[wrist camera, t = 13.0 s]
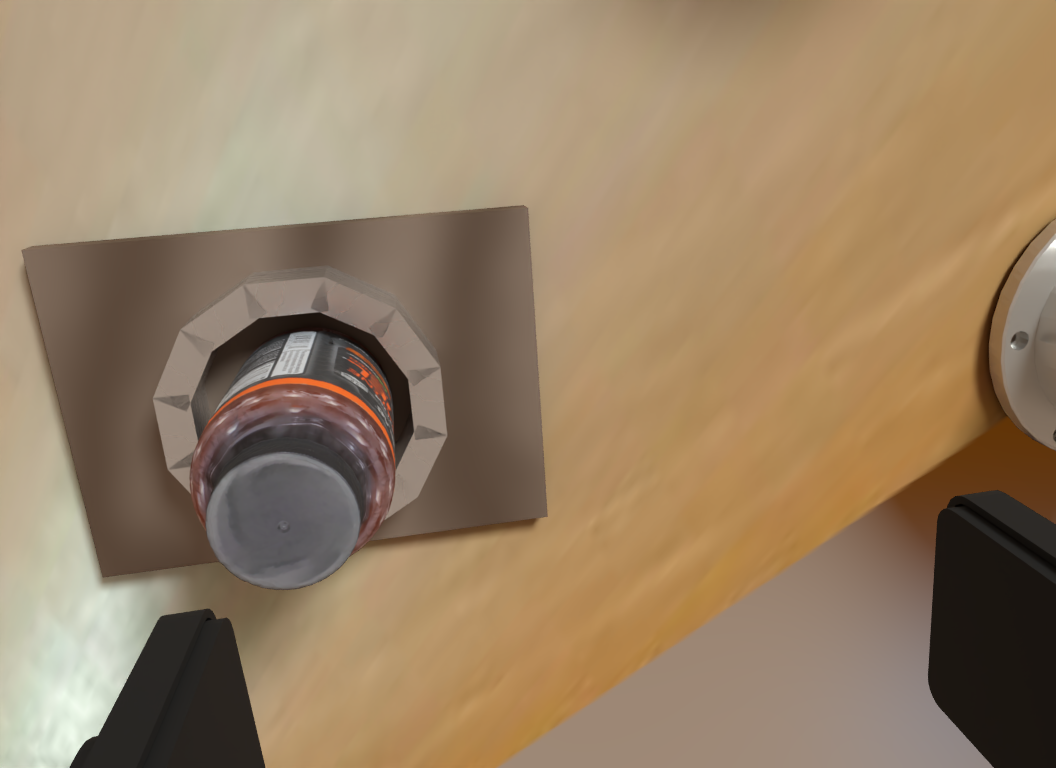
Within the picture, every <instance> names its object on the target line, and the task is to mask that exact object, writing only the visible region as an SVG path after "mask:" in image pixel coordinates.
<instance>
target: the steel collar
mask: <svg viewBox="0 0 1056 768" xmlns="http://www.w3.org/2000/svg"><path fill="white" fill-rule="evenodd" d="M315 312H320V313H323V314H325V315H327V316H330V317H332V318H335V319H337V320H339V321H342V322H344V323H346V324H349V325H351V326H354V327H356V328H358V329H361V330H363V331H365V332H368V333H370V334H373V335H374V336H375V337H376V338H377V340H378V341H379V342H380V343H381V345H382V346H383V347H384V349H385V350H386V351H387V352H388V354H389V355H390V356H391V358H392V359H393V360H394V362H395V363H396V364H397V365H398V367H399V368H400V369H401V371H402V372H403V373H404V374H405V376H406V377H407V378H408V382H409V391H410V400H411V408H412V410H411V413H410V415H409V417H408V419H407V421H406V423H405V425H404V427H403V430H402V432H401V434H400V436H399V438H398V440H397V442H396V445H395V462H396V464H395V469H396V470H395V487H394V493H393V497H392V502H391V506H390V509H389V512H388V514H387V516H386V518H385V520H386V519H387V518H388V517H390V516H391V515H393V514H394V513H396V512H397V511H398V510H400V509H401V508H403V507H404V506H406V505H407V504H409V503H410V502H411V501H413V500H414V499H416V498H417V497H418V496H419V494H420V491H421V489H422V487H423V485H424V483H425V481H426V479H427V477H428V475H429V473H430V471H431V469H432V467H433V465H434V462H435V460H436V458H437V456H438V454H439V452H440V450H441V448H442V446H443V444H444V442H445V440H446V438H447V428H446V418H445V408H444V398H443V388H442V378H441V367H440V363H439V359H438V355H437V351H436V349H435V348H434V346H433V345H432V344H431V342H430V341H429V340H428V338H427V337H426V336H425V334H424V333H423V332H422V330H421V329H420V328H419V326H418V325H417V324H416V322H415V321H414V320H413V318H412V317H411V316H410V314H409V313H408V312H407V310H406V309H405V308H404V306H403V305H402V304H401V302H400V301H399V300H398V298H397V297H396V296H395V295H394V294H392V293H389V292H387V291H385V290H383V289H380V288H378V287H376V286H373V285H371V284H369V283H367V282H364V281H362V280H360V279H358V278H355V277H353V276H351V275H348V274H346V273H344V272H342V271H339V270H337V269H335V268H332V267H330V266H318V267H307V268H296V269H285V270H274V271H263V272H254V273H252V274H251V275H250V276H248V277H247V278H245V279H244V280H243V281H241V282H240V283H238V284H237V285H236V286H234V287H233V288H231V289H230V290H228V291H227V292H226V293H224V294H223V295H221V296H220V297H219V298H217V299H216V300H214V301H213V302H212V303H210V304H209V305H207V306H206V307H205V308H203V309H202V310H200V311H199V312H198V313H196V314H195V315H194V316H193V317H192V318H191V319H190V320H189V321H188V322H187V323H186V324H185V325H184V326H183V327H182V328H181V329H180V331H179V334H178V336H177V339H176V341H175V344H174V346H173V349H172V351H171V354H170V356H169V359H168V361H167V364H166V366H165V369H164V371H163V374H162V376H161V379H160V382H159V384H158V387H157V389H156V392H155V394H154V397H153V402H154V407H155V412H156V417H157V421H158V426H159V431H160V435H161V440H162V445H163V449H164V454H165V459H166V464H167V468H168V470H169V471H170V472H171V474H172V475H173V476H174V477H175V478H176V479H177V480H178V481H179V482H180V483H181V484H182V485H183V486H184V487H185V488H186V489H187V490H188V492H189V493H190V494H191V492H190V479H189V477H190V467H191V462H192V457H193V454H194V451H195V448H196V445H197V443H198V441H199V438H200V437H201V435H202V433H203V431H204V429H205V428H206V426H207V424H208V422H209V420H210V418H211V415H210V410H209V404H208V399H207V394H206V389H205V383H204V382H205V380H206V377H207V375H208V373H209V370H210V368H211V365H212V363H213V360H214V358H215V356H216V353H217V351H218V348H219V346H220V345H222V344H223V343H225V342H226V341H227V340H229V339H230V338H232V337H233V336H235V335H236V334H237V333H239V332H240V331H242V330H243V329H244V328H246V327H247V326H249V325H250V324H251V323H253V322H254V321H256V320H257V319H259V318H264V317H274V316H285V315H295V314H305V313H315Z"/></svg>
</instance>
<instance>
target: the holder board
mask: <svg viewBox="0 0 1056 768" xmlns="http://www.w3.org/2000/svg"><path fill="white" fill-rule="evenodd" d="M22 254H23V258H24V262H25V266H26V270H27V274H28V278H29V283H30V287H31V291H32V295H33V299H34V303H35V307H36V311H37V315H38V319H39V323H40V327H41V331H42V335H43V339H44V343H45V347H46V351H47V355H48V359H49V363H50V367H51V371H52V375H53V379H54V383H55V387H56V391H57V395H58V399H59V403H60V407H61V411H62V415H63V419H64V423H65V427H66V431H67V435H68V439H69V443H70V447H71V451H72V455H73V459H74V463H75V467H76V471H77V476H78V480H79V484H80V488H81V492H82V496H83V500H84V504H85V508H86V512H87V516H88V520H89V524H90V528H91V532H92V536H93V540H94V544H95V548H96V552H97V556H98V560H99V564H100V568H101V572H102V576H103V577H109V576H116V575H124V574H131V573H138V572H146V571H153V570H160V569H168V568H175V567H182V566H189V565H197V564H204V563H211V562H219V560H218V559H217V557H216V556H215V553H214V551H213V550H212V548H211V546H210V543H209V540H208V538H207V533H206V530H205V528H204V527H203V525H202V524H201V522H200V520H199V518H198V516H197V514H196V511H195V509H194V505H193V502H192V498H191V494H190V493H189V492H188V490H187V489H186V488H185V487H184V486H183V485H182V484H181V483H180V482H179V481H178V480H177V479H176V478H175V477H174V476H173V475H172V474H171V472H170V471H169V470H168V468H167V464H166V459H165V454H164V449H163V445H162V440H161V435H160V431H159V426H158V421H157V417H156V412H155V407H154V402H153V397H154V394H155V392H156V389H157V387H158V384H159V382H160V379H161V376H162V374H163V371H164V369H165V366H166V364H167V361H168V359H169V356H170V354H171V351H172V349H173V346H174V344H175V341H176V339H177V336H178V334H179V331H180V329H181V328H182V327H183V326H184V325H185V324H186V323H187V322H188V321H189V320H190V319H191V318H192V317H193V316H194V315H195V314H196V313H198V312H199V311H200V310H202V309H203V308H205V307H206V306H207V305H209V304H210V303H212V302H213V301H214V300H216V299H217V298H219V297H220V296H221V295H223V294H224V293H226V292H227V291H228V290H230V289H231V288H233V287H234V286H236V285H237V284H238V283H240V282H241V281H243V280H244V279H245V278H247V277H248V276H250V275H251V274H252V273H254V272H263V271H274V270H285V269H296V268H307V267H318V266H330V267H332V268H335V269H337V270H339V271H342V272H344V273H346V274H348V275H351V276H353V277H355V278H358V279H360V280H362V281H364V282H367V283H369V284H371V285H373V286H376V287H378V288H380V289H383V290H385V291H387V292H389V293H392V294H394V295H395V296H396V297H397V298H398V300H399V301H400V302H401V304H402V305H403V306H404V308H405V309H406V310H407V312H408V313H409V314H410V316H411V317H412V318H413V320H414V321H415V322H416V324H417V325H418V326H419V328H420V329H421V330H422V332H423V333H424V334H425V336H426V337H427V338H428V340H429V341H430V342H431V344H432V345H433V346H434V348H435V349H436V351H437V355H438V359H439V363H440V367H441V378H442V388H443V398H444V408H445V418H446V428H447V438H446V440H445V442H444V444H443V446H442V448H441V450H440V452H439V454H438V456H437V458H436V460H435V462H434V465H433V467H432V469H431V471H430V473H429V475H428V477H427V479H426V481H425V483H424V485H423V487H422V489H421V491H420V494H419V496H418V497H417V498H416V499H414V500H413V501H411V502H410V503H409V504H407V505H406V506H404V507H403V508H401V509H400V510H398V511H397V512H396V513H394V514H393V515H391V516H390V517H388V518H387V519H386V520H384V521H383V523H382V524H381V526H380V527H379V529H378V530H377V532H376V533H375V534H374V536H373V537H372V538H371V539H370V540H369V541H373V540H380V539H387V538H395V537H402V536H409V535H417V534H424V533H431V532H439V531H446V530H453V529H461V528H468V527H475V526H483V525H490V524H497V523H505V522H512V521H519V520H527V519H534V518H541V517H548V516H547V500H546V484H545V468H544V453H543V437H542V421H541V405H540V389H539V374H538V358H537V342H536V326H535V311H534V295H533V279H532V263H531V247H530V232H529V216H528V208H527V207H526V206H524V205H523V206H511V207H499V208H487V209H475V210H463V211H451V212H439V213H427V214H415V215H403V216H391V217H379V218H367V219H355V220H343V221H331V222H319V223H306V224H294V225H282V226H270V227H258V228H246V229H234V230H222V231H210V232H198V233H186V234H174V235H162V236H150V237H138V238H126V239H114V240H102V241H90V242H78V243H66V244H54V245H42V246H32V247H29V248H26V249H23V250H22ZM313 327H317V328H327V329H331V330H336V331H339V332H341V333H343V334H345V335H348V336H350V337H352V338H353V339H355V340H356V341H358V342H359V343H361V344H362V345H363V346H365V347H366V348H367V349H368V350H369V351H370V352H371V353H372V354H373V355H374V356H375V357H376V359H377V360H378V361H379V362H380V364H381V366H382V368H383V370H384V372H385V373H386V376H387V379H388V381H389V386H390V389H391V394H392V400H393V416H394V421H393V423H394V441H395V444H394V446H395V445H396V442H397V440H398V438H399V436H400V434H401V432H402V430H403V427H404V425H405V423H406V421H407V419H408V417H409V415H410V413H411V410H412V408H411V400H410V391H409V382H408V378H407V377H406V376H405V374H404V373H403V372H402V371H401V369H400V368H399V367H398V365H397V364H396V363H395V362H394V360H393V359H392V358H391V356H390V355H389V354H388V352H387V351H386V350H385V349H384V347H383V346H382V345H381V343H380V342H379V341H378V340H377V338H376V337H375V336H374V335H373V334H370V333H368V332H365V331H363V330H361V329H358V328H356V327H354V326H351V325H349V324H346V323H344V322H342V321H339V320H337V319H335V318H332V317H330V316H327V315H325V314H323V313H320V312H315V313H305V314H295V315H285V316H274V317H264V318H259V319H257V320H256V321H254V322H253V323H251V324H250V325H249V326H247V327H246V328H244V329H243V330H242V331H240V332H239V333H237V334H236V335H235V336H233V337H232V338H230V339H229V340H227V341H226V342H225V343H223V344H222V345H220V346H219V348H218V351H217V353H216V356H215V358H214V360H213V363H212V365H211V368H210V370H209V373H208V375H207V377H206V380H205V382H204V383H205V389H206V394H207V399H208V404H209V410H210V415H211V417H212V415H213V414H214V412H215V410H216V409H217V407H218V406H219V404H220V402H221V400H222V398H223V397H224V395H225V394H226V392H227V390H228V389H229V387H230V385H231V384H232V382H233V380H234V379H235V377H236V375H237V373H238V372H239V370H240V368H241V367H242V365H243V364H244V363H245V362H246V360H247V359H248V357H249V356H250V355H251V354H252V353H253V352H254V350H256V349H257V348H258V347H259V346H260V345H262V344H263V343H264V342H266V341H267V340H269V339H270V338H272V337H273V336H276V335H278V334H280V333H283V332H285V331H289V330H292V329H298V328H313Z"/></svg>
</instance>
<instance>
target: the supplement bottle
mask: <svg viewBox="0 0 1056 768" xmlns="http://www.w3.org/2000/svg"><path fill="white" fill-rule="evenodd" d="M393 421H394V416H393V400H392V394H391V389H390V386H389V381H388V379H387V376H386V373H385V372H384V370H383V368H382V366H381V364H380V362H379V361H378V360H377V359H376V357H375V356H374V355H373V354H372V353H371V352H370V351H369V350H368V349H367V348H366V347H365V346H363V345H362V344H361V343H359V342H358V341H356V340H355V339H353V338H352V337H350V336H348V335H345V334H343V333H341V332H339V331H336V330H331V329H327V328H317V327H313V328H298V329H292V330H289V331H285V332H283V333H280V334H278V335H276V336H273V337H272V338H270V339H269V340H267V341H266V342H264V343H263V344H262V345H260V346H259V347H258V348H257V349H256V350H254V352H253V353H252V354H251V355H250V356H249V357H248V359H247V360H246V362H245V363H244V364H243V365H242V367H241V368H240V370H239V372H238V373H237V375H236V377H235V379H234V380H233V382H232V384H231V385H230V387H229V389H228V390H227V392H226V394H225V395H224V397H223V398H222V400H221V402H220V404H219V406H218V407H217V409H216V410H215V412H214V414H213V415H212V417H211V418H210V420H209V422H208V424H207V426H206V428H205V429H204V431H203V433H202V435H201V437H200V438H199V441H198V443H197V445H196V448H195V451H194V454H193V457H192V462H191V467H190V477H189V479H190V492H191V498H192V502H193V505H194V509H195V511H196V514H197V516H198V518H199V520H200V522H201V524H202V525H203V527H204V528H205V530H206V533H207V538H208V540H209V543H210V546H211V548H212V550H213V551H214V553H215V556H216V557H217V559H218V560H219V562H220V563H222V564H223V565H224V566H225V567H226V569H228V570H229V571H230V572H231V573H232V574H234V575H235V576H236V577H238V578H239V579H241V580H243V581H246V582H249V583H250V584H252V585H256V586H259V587H262V588H267V589H275V590H290V589H298V588H303V587H306V586H310V585H313V584H315V583H317V582H319V581H322V580H323V579H325V578H327V577H328V576H330V575H331V574H333V573H334V572H335V571H336V570H338V569H339V568H340V567H341V566H342V565H343V564H344V563H345V561H346V560H347V559H348V557H350V556H351V555H353V554H354V553H355V552H357V551H359V550H360V549H361V548H362V547H363V546H364V545H365V544H366V543H367V542H368V541H369V540H370V539H371V538H372V537H373V536H374V534H375V533H376V532H377V530H378V529H379V527H380V526H381V524H382V523H383V521H384V520H385V518H386V516H387V514H388V512H389V509H390V506H391V502H392V497H393V493H394V487H395V470H396V469H395V464H396V462H395V446H394V444H395V441H394V423H393Z"/></svg>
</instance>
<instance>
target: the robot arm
mask: <svg viewBox="0 0 1056 768" xmlns="http://www.w3.org/2000/svg"><path fill="white" fill-rule="evenodd" d="M989 369H990V373H991V378H992V382H993V386H994V391H995V393H996V395H997V398H998V400H999V402H1000V404H1001V406H1002V408H1003V410H1004V412H1005V413H1006V414H1007V416H1008V417H1009V418H1010V419H1011V420H1012V422H1013V423H1014V424H1015V425H1016V427H1017V428H1018V429H1020V430H1021V431H1023V432H1024V433H1025V434H1027V435H1028V436H1029V437H1031V438H1032V439H1033V440H1035V441H1037V442H1039V443H1041V444H1043V445H1045V446H1047V447H1049V448H1051V449H1053V450H1055V451H1056V219H1055V220H1053V221H1052V222H1051V223H1050V224H1049V225H1048V226H1047V227H1046V228H1045V229H1044V230H1043V231H1042V232H1041V233H1040V234H1039V235H1038V236H1037V237H1036V238H1035V239H1034V240H1033V241H1032V242H1031V244H1030V245H1029V246H1028V248H1027V249H1026V251H1025V252H1024V253H1023V255H1022V256H1021V258H1020V259H1019V260H1018V262H1017V263H1016V265H1015V266H1014V268H1013V270H1012V272H1011V274H1010V276H1009V278H1008V280H1007V282H1006V284H1005V286H1004V288H1003V289H1002V291H1001V294H1000V297H999V300H998V304H997V307H996V310H995V313H994V316H993V320H992V326H991V333H990V340H989ZM928 682H929V687H930V690H931V693H932V696H933V698H934V700H935V702H936V703H937V705H938V706H939V707H940V709H941V710H942V711H943V712H944V713H945V714H946V715H947V716H948V717H949V719H950V720H951V721H952V722H953V723H954V724H955V725H956V726H957V727H958V728H959V730H960V731H961V732H962V733H963V734H964V735H965V736H966V737H967V738H968V739H969V741H971V743H972V744H973V745H974V746H975V747H976V748H977V749H978V751H979V752H980V753H981V754H982V755H983V756H984V757H985V758H986V759H987V760H988V761H989V763H990V764H991V765H992V766H993V767H994V768H1056V524H1054V523H1052V522H1051V521H1049V520H1048V519H1046V518H1044V517H1043V516H1041V515H1040V514H1038V513H1036V512H1035V511H1033V510H1031V509H1030V508H1028V507H1027V506H1025V505H1023V504H1022V503H1020V502H1019V501H1017V500H1015V499H1014V498H1012V497H1010V496H1009V495H1007V494H1006V493H1003V492H1001V491H998V490H995V491H987V492H981V493H974V494H968V495H961V496H955V497H954V498H952V499H951V500H950V502H949V504H948V506H947V508H946V509H943V510H942V511H941V512H940V514H939V516H938V520H937V534H936V551H935V568H934V585H933V602H932V618H931V635H930V653H929V669H928ZM70 768H265V764H264V760H263V755H262V751H261V747H260V742H259V738H258V734H257V730H256V725H255V721H254V717H253V713H252V708H251V704H250V700H249V695H248V691H247V687H246V683H245V678H244V674H243V670H242V665H241V661H240V657H239V653H238V648H237V644H236V640H235V636H234V631H233V628H232V624H231V622H230V620H229V619H228V618H223V619H216V617H215V615H214V613H213V612H212V611H211V610H210V609H204V610H197V611H191V612H184V613H177V614H171V615H164V616H161V617H160V619H159V620H158V621H157V623H156V625H155V627H154V629H153V631H152V633H151V635H150V637H149V639H148V641H147V643H146V644H145V646H144V648H143V650H142V652H141V654H140V656H139V658H138V660H137V662H136V664H135V666H134V668H133V670H132V672H131V673H130V675H129V677H128V679H127V681H126V683H125V685H124V687H123V689H122V691H121V693H120V695H119V697H118V699H117V700H116V702H115V704H114V706H113V708H112V710H111V712H110V714H109V716H108V718H107V720H106V722H105V724H104V726H103V728H102V729H101V731H100V733H99V735H98V736H96V737H92V738H90V739H89V740H87V741H85V743H84V744H83V745H82V747H81V748H80V750H79V751H78V753H77V755H76V756H75V758H74V760H73V762H72V764H71V766H70Z"/></svg>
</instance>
